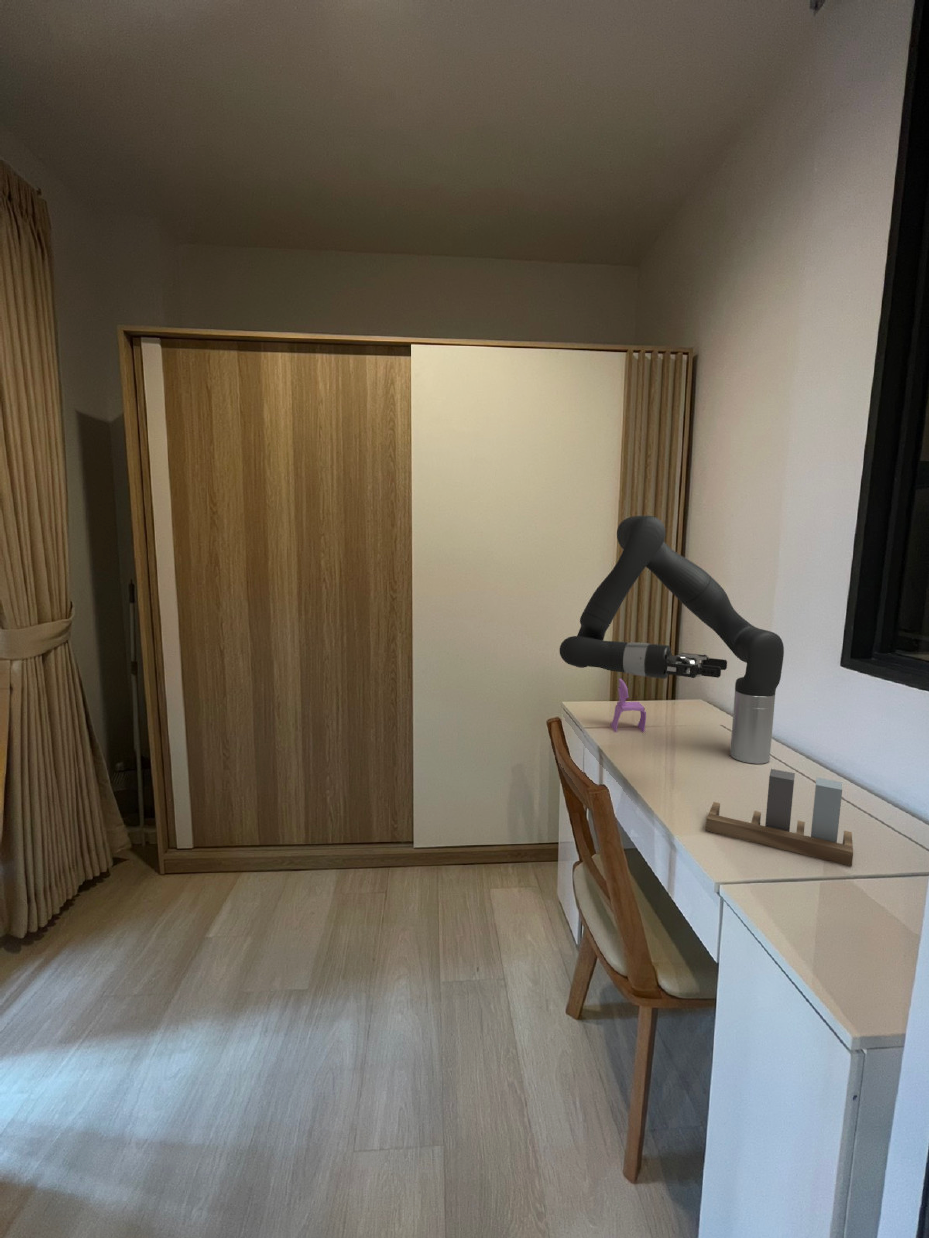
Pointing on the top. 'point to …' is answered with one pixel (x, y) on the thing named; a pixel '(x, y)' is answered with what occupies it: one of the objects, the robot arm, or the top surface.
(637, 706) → the toy chair
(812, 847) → the cable comb
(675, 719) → the top surface
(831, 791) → the slate plug
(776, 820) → the grey tall rectangular block
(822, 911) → the top surface
